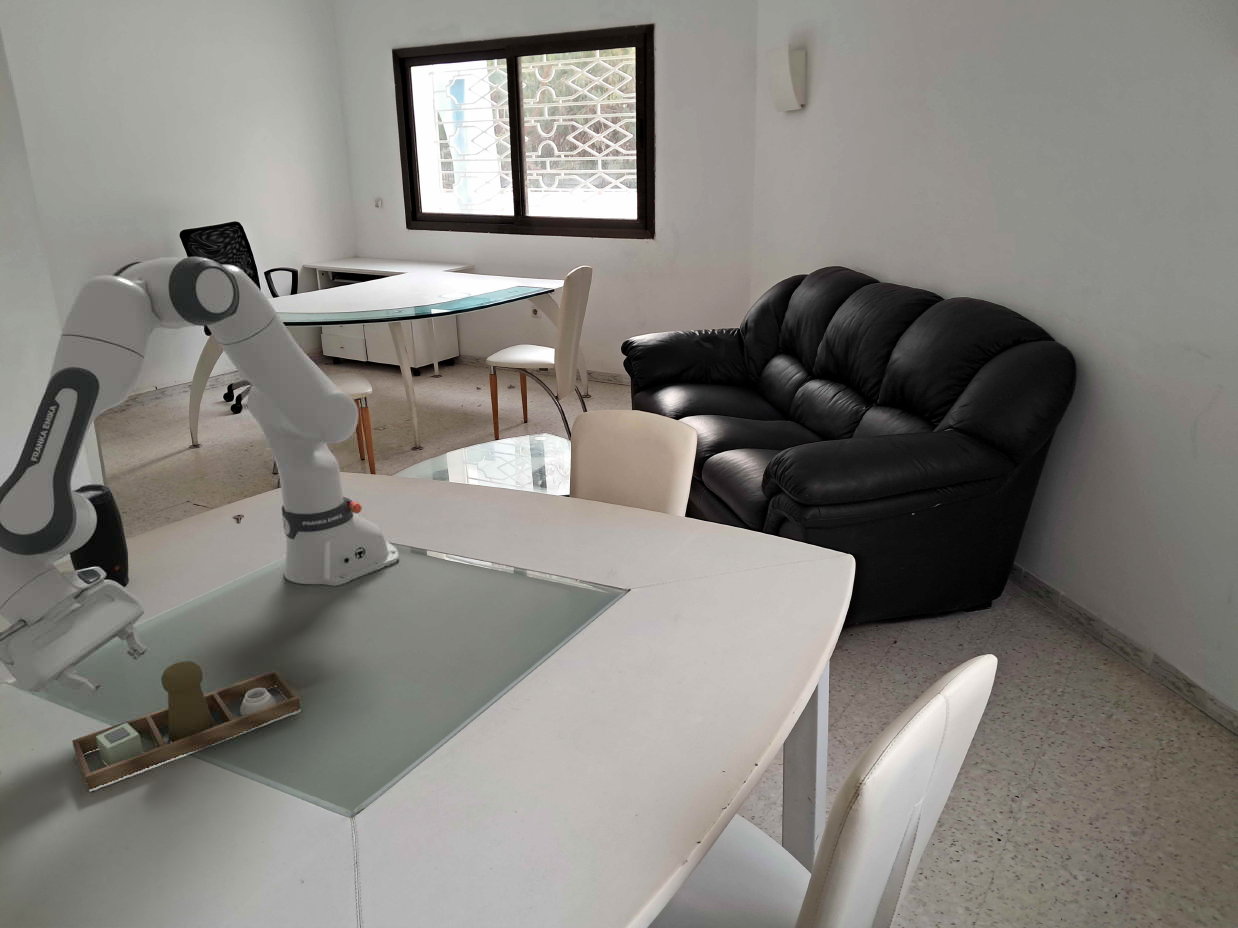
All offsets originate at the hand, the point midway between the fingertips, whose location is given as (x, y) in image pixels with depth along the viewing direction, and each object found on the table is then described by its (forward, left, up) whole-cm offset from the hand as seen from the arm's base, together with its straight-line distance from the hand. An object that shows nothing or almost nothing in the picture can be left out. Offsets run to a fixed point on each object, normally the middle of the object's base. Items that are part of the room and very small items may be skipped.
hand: (119, 672), depth 124 cm
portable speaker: (-6, -51, -9) cm, 53 cm away
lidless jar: (-16, +8, -9) cm, 20 cm away
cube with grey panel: (+3, +8, -9) cm, 12 cm away
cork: (-6, +8, -9) cm, 14 cm away
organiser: (-6, +8, -9) cm, 13 cm away
